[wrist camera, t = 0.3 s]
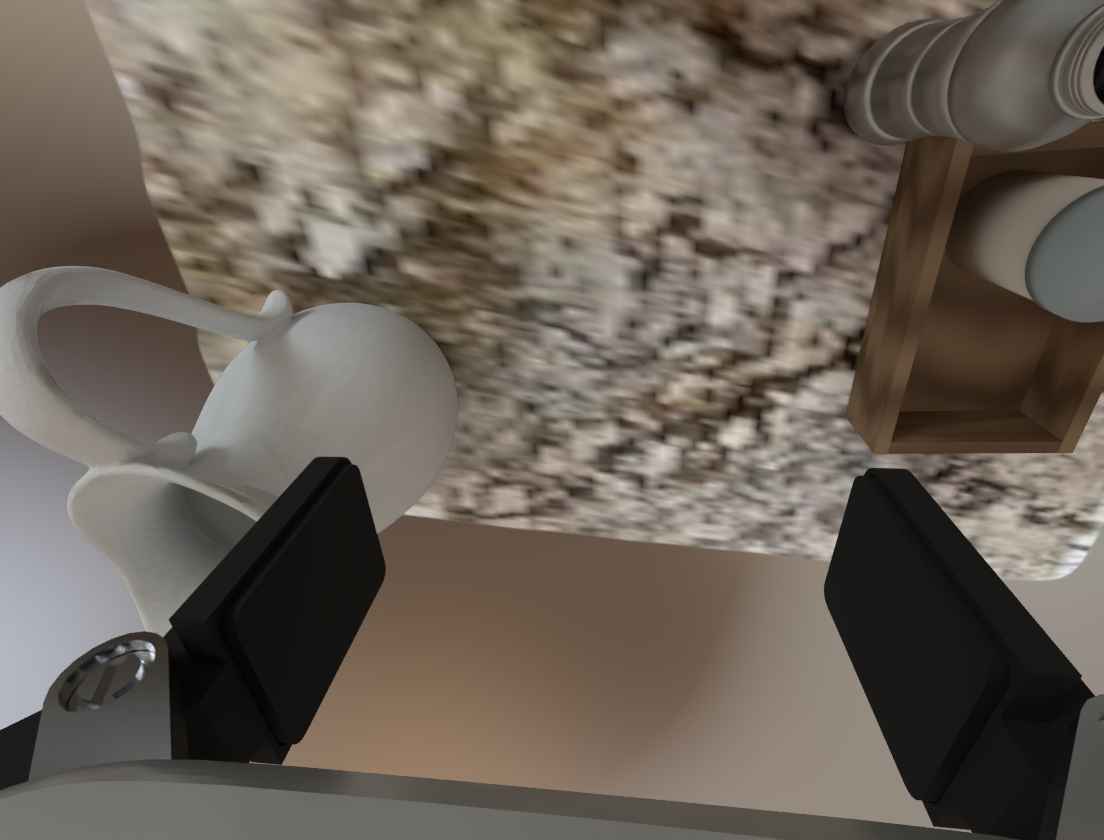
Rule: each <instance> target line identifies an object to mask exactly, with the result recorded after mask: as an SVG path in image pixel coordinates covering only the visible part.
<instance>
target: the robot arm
mask: <svg viewBox="0 0 1104 840" xmlns="http://www.w3.org/2000/svg"><path fill="white" fill-rule="evenodd" d="M385 570H386V568H385V561H384V558H383V554H382V550H381V546H380V543H379V539H378V535H377V532H376V528H375V524H374V521H373V517H372V513H371V510H370V506H369V502H368V499H367V495H366V491H365V488H364V484H363V480H362V476H361V473H360V470H359V468H358V466H357V465H354V464H352V463H351V461H350V460H349V459H348V458H346V457H316V458H314V459H313V460H312V461H311V462H310V463H309V464H308V466H307V467H306V468H305V469H304V470H303V471H302V472H301V473H300V474H299V476H298V477H297V478H296V479H295V480H294V481H293V482H292V483H291V484H290V486H289V487H288V488H287V489H286V490H285V491H284V492H283V493H282V494H281V495H280V497H279V498H278V499H277V500H276V501H275V502H274V503H273V504H272V505H271V507H270V508H269V509H268V510H267V511H266V512H265V513H264V514H263V515H262V517H261V518H260V519H259V520H258V521H257V522H256V523H255V524H254V525H253V526H252V528H251V529H250V530H249V531H248V532H247V533H246V534H245V535H244V536H243V538H242V539H241V540H240V541H239V542H238V543H237V544H236V545H235V546H234V548H233V549H232V550H231V551H230V552H229V553H228V554H227V555H226V556H225V557H224V559H223V560H222V561H221V562H220V563H219V564H218V565H217V566H216V567H215V569H214V570H213V571H212V572H211V573H210V574H209V575H208V576H207V577H206V578H205V580H204V581H203V582H202V583H201V584H200V585H199V586H198V587H197V588H196V590H195V591H194V592H193V593H192V594H191V595H190V596H189V597H188V598H187V600H186V601H185V602H184V603H183V604H182V605H181V606H180V607H179V608H178V609H177V611H176V612H175V613H174V614H173V615H172V616H171V617H170V618H169V619H168V620H169V622H170V624H171V625H172V628H171V629H170V630H169V631H168V632H167V633H166V634H165V636H164V637H162V636H160V635H159V634H157V633H152V632H146V631H143V632H135V633H128V634H125V635H122V636H119V637H116V638H113V639H111V640H108V641H106V642H105V643H103V644H101V645H98V646H96V647H94V648H93V649H91V650H90V651H88V652H87V653H85V654H84V655H82V656H81V657H79V658H78V659H76V660H75V661H74V662H73V663H72V664H71V665H70V666H68V668H66V669H65V670H64V671H63V672H62V673H61V674H60V675H59V677H58V678H57V679H56V680H55V682H54V683H53V684H52V685H51V687H50V688H49V691H48V693H47V695H46V698H45V700H44V703H43V708H42V710H41V711H39V712H37V713H35V714H32V715H31V716H28V717H26V718H24V719H22V720H20V721H18V722H16V723H14V724H12V725H10V726H8V727H6V728H4V729H2V730H0V840H1104V695H1098V696H1094V694H1093V693H1092V692H1091V691H1090V689H1089V688H1088V687H1087V686H1086V685H1085V684H1084V682H1083V681H1082V680H1081V679H1080V678H1081V677H1082V675H1081V674H1080V673H1079V672H1078V671H1077V670H1076V668H1075V667H1074V666H1073V665H1072V663H1071V662H1070V661H1069V660H1068V659H1067V658H1066V657H1065V655H1064V654H1063V653H1062V652H1061V650H1060V649H1059V648H1058V647H1057V646H1056V644H1055V643H1054V642H1053V641H1052V640H1051V638H1049V636H1048V635H1047V634H1046V633H1045V631H1044V630H1043V629H1042V628H1041V627H1040V625H1039V624H1038V623H1037V622H1036V621H1035V619H1034V618H1033V617H1032V616H1031V615H1030V613H1029V612H1028V611H1027V610H1026V609H1025V607H1024V606H1023V605H1022V604H1021V603H1020V602H1019V600H1018V599H1017V598H1016V597H1015V596H1014V594H1013V593H1012V592H1011V591H1010V590H1009V589H1008V587H1007V586H1006V585H1005V584H1004V582H1003V581H1002V580H1001V579H1000V578H999V577H998V575H997V574H996V573H995V572H994V571H993V569H992V568H991V567H990V566H989V565H988V563H987V562H986V561H985V560H984V559H983V557H982V556H981V555H980V554H979V553H978V552H977V550H976V549H975V548H974V547H973V546H972V544H971V543H970V542H969V541H968V540H967V538H966V537H965V536H964V535H963V534H962V532H961V531H960V530H959V529H958V528H957V527H956V525H955V524H954V523H953V522H952V521H951V519H950V518H949V517H948V516H947V515H946V513H945V512H944V511H943V510H942V509H941V507H940V506H939V505H938V504H937V503H936V501H935V500H934V499H933V498H932V497H931V496H930V494H929V493H928V492H927V491H926V490H925V488H924V487H923V486H922V485H921V484H920V482H919V481H918V480H917V479H916V478H915V476H914V475H913V474H912V473H911V472H910V471H909V470H907V469H891V468H870V469H868V470H867V471H866V472H865V474H864V476H858V477H856V478H855V480H854V482H853V485H852V489H851V492H850V496H849V499H848V503H847V506H846V510H845V513H844V517H843V520H842V524H841V527H840V531H839V535H838V538H837V542H836V545H835V549H834V552H833V556H832V559H831V563H830V566H829V570H828V573H827V577H826V580H825V585H824V596H825V601H826V604H827V606H828V609H829V611H830V613H831V616H832V618H833V620H834V623H835V625H836V627H837V629H838V632H839V634H840V637H841V639H842V641H843V643H844V645H845V648H846V650H847V653H848V655H849V657H850V660H851V662H852V664H853V666H854V669H855V671H856V673H857V676H858V678H859V680H860V682H861V685H862V687H863V689H864V692H865V694H866V696H867V699H868V701H869V703H870V706H871V708H872V710H873V712H874V715H875V717H876V719H877V722H878V724H879V726H880V728H881V731H882V733H883V736H884V738H885V740H886V742H887V745H888V747H889V749H890V752H891V754H892V756H893V759H894V761H895V763H896V765H897V768H898V770H899V772H900V775H901V777H902V779H903V782H904V784H905V786H906V788H907V790H908V792H909V793H910V794H911V796H912V797H913V798H914V799H916V800H922V802H923V804H924V806H925V808H926V810H927V813H928V815H929V817H930V819H931V821H932V824H933V826H935V827H946V828H957V829H967V830H971V831H972V833H969V832H959V831H952V830H943V829H934V828H926V827H917V826H909V825H900V824H891V823H883V822H874V821H866V820H858V819H847V818H837V817H827V816H817V815H806V814H797V813H787V812H777V811H766V810H757V809H747V808H737V807H727V806H717V805H707V804H697V803H687V802H677V801H667V800H656V799H646V798H635V797H624V796H614V795H604V794H593V793H582V792H572V791H561V790H550V789H539V788H528V787H518V786H508V785H497V784H486V783H476V782H465V781H454V780H441V779H432V778H420V777H409V776H397V775H386V774H375V773H363V772H352V771H341V770H330V769H319V768H307V767H296V766H281V764H282V763H283V761H284V759H285V757H286V755H287V753H288V751H289V750H290V748H291V746H292V744H297V743H299V742H300V741H301V740H302V739H303V737H304V735H305V734H306V732H307V730H308V728H309V726H310V724H311V722H312V720H313V718H314V716H315V714H316V712H317V710H318V708H319V706H320V704H321V702H322V700H323V698H324V697H325V695H326V692H327V691H328V689H329V686H330V685H331V683H332V681H333V679H334V677H335V675H336V673H337V671H338V669H339V667H340V665H341V663H342V661H343V659H344V657H345V655H346V653H347V651H348V649H349V648H350V645H351V644H352V642H353V640H354V638H355V636H356V634H357V632H358V630H359V628H360V626H361V624H362V622H363V620H364V618H365V616H366V614H367V612H368V610H369V608H370V606H371V604H372V602H373V600H374V598H375V597H376V595H377V593H378V591H379V589H380V587H381V585H382V583H383V580H384V577H385ZM250 760H251V762H258V763H268V764H279V765H266V764H252V763H249V762H250Z"/></svg>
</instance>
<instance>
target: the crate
mask: <svg viewBox="0 0 1104 840" xmlns="http://www.w3.org/2000/svg"><path fill="white" fill-rule="evenodd" d="M1014 170H1029V171H1038V172H1046V173H1055V174H1063V175H1071V176H1080V177H1088V178H1097V179H1104V121H1102V122H1089V123H1087V124H1086V125H1084V126H1083V127H1081V128H1080V129H1078V130H1076V131H1074V132H1072V133H1070V134H1069V135H1067V136H1065V137H1062V138H1060V139H1057V140H1055V141H1052V142H1049V143H1047V144H1044V145H1041V146H1038V147H1036V148H1032V149H1027V150H1023V151H1017V152H1001V151H996V150H990V149H985V148H980V147H977V146H975V145H972V144H969V143H966V142H964V141H961V140H958V139H955V138H951V137H944V136H929V137H922V138H919V139H917V140H914V141H910V142H907V145H906V149H905V154H904V158H903V162H902V167H901V171H900V176H899V180H898V185H897V189H896V194H895V198H894V203H893V207H892V212H891V216H890V221H889V225H888V229H887V234H886V238H885V243H884V247H883V252H882V256H881V261H880V265H879V270H878V274H877V279H876V283H875V287H874V292H873V296H872V301H871V305H870V310H869V314H868V319H867V323H866V328H865V332H864V337H863V341H862V345H861V350H860V354H859V359H858V363H857V368H856V372H855V377H854V381H853V386H852V390H851V395H850V399H849V404H848V408H847V412H846V418H847V419H848V421H849V422H850V423H851V424H852V426H853V427H854V428H855V430H856V431H857V432H858V434H859V435H860V436H861V437H862V439H863V440H864V441H865V443H866V444H867V445H868V446H869V448H870V449H871V450H872V452H873V453H874V454H905V453H1073V451H1074V449H1075V447H1076V445H1077V442H1078V440H1079V438H1080V436H1081V434H1082V432H1083V430H1084V428H1085V426H1086V424H1087V422H1088V420H1089V418H1090V415H1091V413H1092V411H1093V409H1094V407H1095V405H1096V403H1097V401H1098V399H1099V397H1100V395H1101V393H1102V391H1103V388H1104V321H1100V322H1077V321H1071V320H1068V319H1065V318H1062V317H1060V316H1058V315H1056V314H1053V313H1051V312H1049V311H1047V310H1045V309H1043V308H1041V307H1040V306H1039V305H1037V304H1036V303H1035V302H1034V301H1033V300H1031V299H1028V298H1026V297H1024V296H1021V295H1019V294H1017V293H1014V292H1012V291H1010V290H1007V289H1005V288H1003V287H1000V286H998V285H996V284H993V283H991V282H989V281H986V280H984V279H982V278H980V277H977V276H975V275H973V274H970V273H968V272H966V271H963V270H961V269H960V268H958V267H957V266H956V265H955V264H954V263H953V262H952V261H951V260H950V258H949V256H948V254H947V252H946V248H945V246H946V243H947V239H948V235H949V232H950V228H951V225H952V221H953V218H954V214H955V210H956V207H957V206H958V204H959V203H960V202H961V200H962V199H963V198H964V197H965V196H966V195H967V194H968V193H969V192H970V191H971V190H973V189H974V188H975V187H976V186H978V185H979V184H981V183H982V182H984V181H986V180H987V179H989V178H991V177H993V176H996V175H998V174H1001V173H1004V172H1008V171H1014Z"/></svg>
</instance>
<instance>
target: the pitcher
mask: <svg viewBox="0 0 1104 840" xmlns="http://www.w3.org/2000/svg"><path fill="white" fill-rule="evenodd" d="M75 304H76V305H78V304H92V305H105V306H114V307H119V308H124V309H129V310H134V311H139V312H143V313H147V314H151V315H155V316H159V317H162V318H166V319H170V320H173V321H177V322H180V323H184V324H187V325H191V326H194V327H197V328H201V329H204V330H207V331H210V332H214V333H217V334H221V335H225V336H229V337H232V338H236V339H241V340H247V341H252V342H250V343H249V344H248V345H247V346H246V347H245V348H244V349H243V350H242V351H240V353H239V354H238V355H237V356H236V357H235V358H234V359H233V360H232V362H231V363H230V364H229V365H228V366H227V368H226V369H225V371H224V372H223V374H222V375H221V377H220V378H219V380H218V381H217V383H216V385H215V386H214V388H213V390H212V392H211V393H210V395H209V397H208V399H207V401H206V403H205V405H204V408H203V409H202V412H201V414H200V417H199V419H198V421H197V424H196V425H195V428H194V430H193V432H192V434H189V433H185V432H181V433H174V434H171V435H169V436H167V437H165V438H163V439H161V440H159V441H157V442H150V441H146V440H142V439H139V438H136V437H132V436H130V435H128V434H125V433H123V432H120V431H118V430H116V429H113V428H111V427H109V426H108V425H106V424H104V423H102V422H100V421H99V420H97V419H96V418H94V417H92V416H91V415H90V414H88V413H87V412H86V411H84V410H83V409H81V408H80V407H79V406H78V405H77V404H76V403H75V402H74V401H73V400H72V399H71V398H70V397H69V396H68V395H67V394H66V393H65V392H64V391H63V390H62V388H61V387H60V386H59V385H58V383H57V382H56V380H55V379H54V377H53V376H52V374H51V373H50V371H49V369H48V368H47V366H46V364H45V361H44V358H43V356H42V353H41V351H40V348H39V346H38V340H37V324H38V320H39V317H40V316H41V315H42V314H43V313H45V312H46V311H48V310H50V309H53V308H55V307H60V306H67V305H75ZM292 313H293V310H292V304H291V300H290V298H289V297H288V295H287V294H286V293H285V292H283V291H282V290H274V291H273V292H271V293H270V294H269V296H268V297H267V300H266V302H265V304H264V306H263V308H262V310H261V312H260V313H259V314H258V315H248V314H244V313H241V312H237V311H233V310H230V309H227V308H224V307H221V306H218V305H215V304H212V303H210V302H207V301H204V300H201V299H198V298H196V297H193V296H190V295H187V294H184V293H181V292H178V291H175V290H173V289H170V288H167V287H164V286H161V285H158V284H155V283H153V282H150V281H147V280H144V279H140V278H137V277H133V276H130V275H127V274H123V273H120V272H116V271H112V270H107V269H103V268H96V267H83V266H64V267H53V268H46V269H41V270H38V271H34V272H31V273H28V274H25V275H23V276H21V277H19V278H17V279H14V280H12V281H10V282H8V283H7V284H5V285H4V286H3V287H1V288H0V415H1V416H2V417H3V418H4V419H5V420H7V422H8V423H9V424H11V425H12V426H13V427H14V428H16V429H17V430H19V431H20V432H21V433H23V434H24V435H25V436H27V437H29V438H30V439H32V440H34V441H36V442H38V443H39V444H41V445H43V446H45V447H47V448H49V449H51V450H53V451H55V452H57V453H59V454H61V455H64V456H66V457H69V458H71V459H73V460H76V461H78V462H80V463H83V464H85V465H87V466H88V467H89V471H88V472H87V473H86V474H85V475H84V476H83V477H82V478H81V479H79V480H78V481H77V482H76V483H75V484H74V486H73V487H72V489H71V491H70V493H69V497H68V502H67V509H68V514H69V518H70V520H71V522H72V524H73V526H74V527H75V528H76V529H77V531H78V532H79V533H80V534H81V535H82V537H83V538H85V540H87V541H88V542H89V543H90V544H91V545H92V546H93V547H94V548H95V549H97V550H98V551H99V552H100V553H101V554H102V555H103V556H104V557H105V558H106V559H107V560H108V561H109V562H110V563H111V564H112V565H113V566H114V568H115V569H116V570H117V571H118V572H119V574H120V575H121V577H122V579H123V580H124V583H125V584H126V586H127V588H128V590H129V592H130V594H131V597H132V599H133V601H134V603H135V605H136V608H137V610H138V613H139V615H140V618H141V621H142V623H143V626H144V628H145V631H146V632H152V633H157V634H159V635H160V636H162V637H164V636H165V634H166V633H167V632H168V631H169V630H170V629H171V628H172V625H171V624H170V622H169V620H168V619H169V618H170V617H171V616H172V615H173V614H174V613H175V612H176V611H177V609H178V608H179V607H180V606H181V605H182V604H183V603H184V602H185V601H186V600H187V598H188V597H189V596H190V595H191V594H192V593H193V592H194V591H195V590H196V588H197V587H198V586H199V585H200V584H201V583H202V582H203V581H204V580H205V578H206V577H207V576H208V575H209V574H210V573H211V572H212V571H213V570H214V569H215V567H216V566H217V565H218V564H219V563H220V562H221V561H222V560H223V559H224V557H225V556H226V555H227V554H228V553H229V552H230V551H231V550H232V549H233V548H234V546H235V545H236V544H237V543H238V542H239V541H240V540H241V539H242V538H243V536H244V535H245V534H246V533H247V532H248V531H249V530H250V529H251V528H252V526H253V525H254V524H255V523H256V522H257V521H258V520H259V519H260V518H261V517H262V515H263V514H264V513H265V512H266V511H267V510H268V509H269V508H270V507H271V505H272V504H273V503H274V502H275V501H276V500H277V499H278V498H279V497H280V495H281V494H282V493H283V492H284V491H285V490H286V489H287V488H288V487H289V486H290V484H291V483H292V482H293V481H294V480H295V479H296V478H297V477H298V476H299V474H300V473H301V472H302V471H303V470H304V469H305V468H306V467H307V466H308V464H309V463H310V462H311V461H312V460H313V459H314V458H316V457H346V458H348V459H349V460H350V461H351V463H352V464H354V465H357V466H358V468H359V470H360V473H361V476H362V480H363V484H364V488H365V491H366V495H367V499H368V502H369V506H370V510H371V513H372V517H373V521H374V524H375V528H376V532H377V534H378V533H379V532H380V531H382V530H383V529H385V528H386V527H387V526H389V525H390V524H392V523H393V522H394V521H395V520H396V519H398V518H399V517H400V516H402V515H403V514H404V513H405V512H406V511H407V510H408V509H410V508H411V507H412V506H413V505H414V504H415V503H416V502H417V501H418V500H419V499H420V498H421V497H422V495H423V494H424V493H425V492H426V490H427V489H428V488H429V487H430V485H431V484H432V482H433V481H434V480H435V478H436V477H437V475H438V473H439V472H440V470H441V468H442V466H443V464H444V462H445V460H446V458H447V456H448V453H449V451H450V448H451V446H452V442H453V439H454V436H455V431H456V425H457V416H458V399H457V390H456V386H455V381H454V378H453V374H452V372H451V369H450V367H449V365H448V362H447V360H446V358H445V356H444V355H443V353H442V351H441V350H440V348H439V347H438V345H437V344H436V343H435V341H434V340H433V339H432V338H431V337H430V336H429V335H428V334H427V333H426V332H425V331H424V330H423V329H422V328H420V327H419V326H418V325H416V324H415V323H414V322H412V321H411V320H409V319H407V318H406V317H404V316H402V315H400V314H398V313H396V312H393V311H391V310H388V309H385V308H382V307H378V306H374V305H368V304H361V303H335V304H328V305H322V306H318V307H314V308H310V309H307V310H304V311H301V312H299V313H296V314H294V315H292Z"/></svg>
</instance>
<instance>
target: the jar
mask: <svg viewBox="0 0 1104 840" xmlns="http://www.w3.org/2000/svg"><path fill="white" fill-rule="evenodd" d="M945 248H946V252H947V254H948V256H949V258H950V260H951V261H952V262H953V263H954V264H955V265H956V266H957V267H958V268H960V269H961V270H963V271H966V272H968V273H970V274H973V275H975V276H977V277H980V278H982V279H984V280H986V281H989V282H991V283H993V284H996V285H998V286H1000V287H1003V288H1005V289H1007V290H1010V291H1012V292H1014V293H1017V294H1019V295H1021V296H1024V297H1026V298H1028V299H1031V300H1033V301H1034V302H1035V303H1036V304H1037V305H1039V306H1040V307H1041V308H1043V309H1045V310H1047V311H1049V312H1051V313H1053V314H1056V315H1058V316H1060V317H1062V318H1065V319H1068V320H1071V321H1077V322H1100V321H1104V179H1097V178H1088V177H1080V176H1071V175H1063V174H1055V173H1046V172H1038V171H1029V170H1014V171H1008V172H1004V173H1001V174H998V175H996V176H993V177H991V178H989V179H987V180H986V181H984V182H982V183H981V184H979V185H978V186H976V187H975V188H974V189H973V190H971V191H970V192H969V193H968V194H967V195H966V196H965V197H964V198H963V199H962V200H961V202H960V203H959V204H958V206H957V207H956V210H955V214H954V218H953V221H952V225H951V228H950V232H949V235H948V239H947V243H946V246H945Z"/></svg>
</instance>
